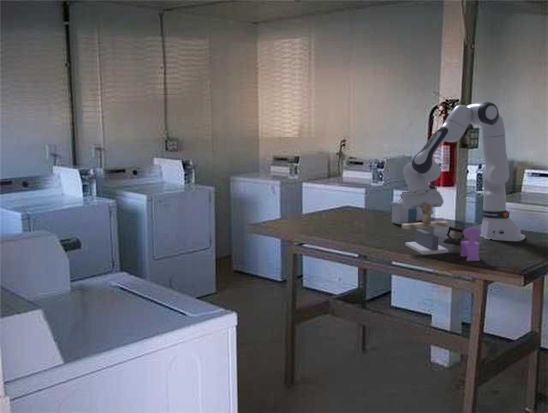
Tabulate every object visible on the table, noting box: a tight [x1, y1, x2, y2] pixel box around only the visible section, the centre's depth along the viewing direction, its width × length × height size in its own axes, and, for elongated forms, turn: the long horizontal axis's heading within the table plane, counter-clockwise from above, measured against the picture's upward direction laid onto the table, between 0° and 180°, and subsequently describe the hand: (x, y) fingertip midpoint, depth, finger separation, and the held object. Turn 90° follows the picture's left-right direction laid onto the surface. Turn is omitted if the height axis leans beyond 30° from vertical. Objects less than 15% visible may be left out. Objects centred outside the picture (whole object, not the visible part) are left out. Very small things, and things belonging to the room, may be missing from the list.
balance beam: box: [401, 202, 452, 230], centre depth 297 cm, size 24×4×12 cm, turn 102°
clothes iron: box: [443, 225, 466, 246], centre depth 310 cm, size 7×11×10 cm, turn 44°
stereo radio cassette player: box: [391, 198, 422, 225], centre depth 364 cm, size 21×8×20 cm, turn 123°
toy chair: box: [460, 226, 481, 262], centre depth 280 cm, size 8×9×15 cm
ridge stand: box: [404, 228, 449, 256], centre depth 299 cm, size 20×13×8 cm, turn 12°
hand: (427, 213), depth 297 cm, fingers closed on balance beam, 3 cm apart
